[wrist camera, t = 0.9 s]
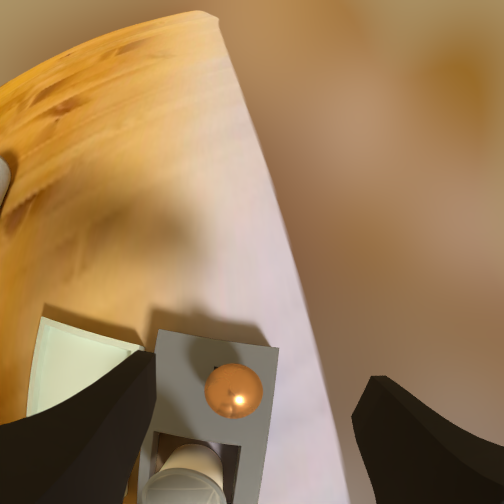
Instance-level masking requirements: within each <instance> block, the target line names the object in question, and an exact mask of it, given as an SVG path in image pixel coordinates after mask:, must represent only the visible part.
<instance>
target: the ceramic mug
mask: <svg viewBox="0 0 504 504" xmlns="http://www.w3.org/2000/svg"><path fill="white" fill-rule="evenodd" d="M10 179H11V170H10V167H9V165H8V163H7V162H6V160H5V159H4V158H3V157H2V156H0V206H1V204H2V201H3V198H4V196H5V194H6V191H7V189H8V186H9V183H10Z"/></svg>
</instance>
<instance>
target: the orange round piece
mask: <svg viewBox="0 0 504 504" xmlns="http://www.w3.org/2000/svg"><path fill="white" fill-rule="evenodd" d="M204 393H205V398H206V401H207V403H208V405H209V406H210V408H211V409H212V410H213V411H214V412H215V413H217V414H218V415H220V416H222V417H225V418H230V419H238V418H243V417H246V416H248V415H250V414H251V413H253V412H254V411H255V410H256V409H257V408H258V406H259V405H260V403H261V400H262V396H263V386H262V383H261V380H260V378H259V377H258V375H257V374H256V373H255V372H254V371H253V370H252V369H250V368H249V367H247V366H245V365H242V364H235V363H231V364H225V365H222V366H220V367H218V368H216V369H215V370H214V371H213V372H212V373H211V374H210V375H209V377H208V378H207V380H206V383H205V388H204Z"/></svg>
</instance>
